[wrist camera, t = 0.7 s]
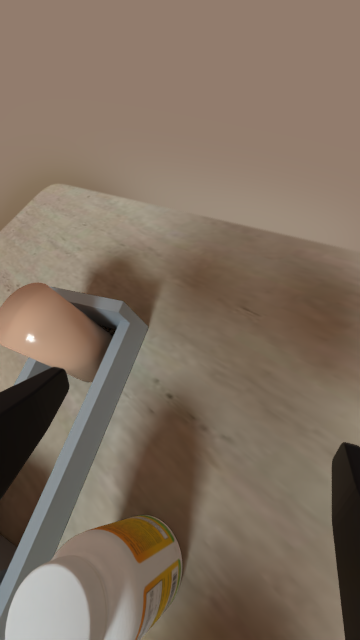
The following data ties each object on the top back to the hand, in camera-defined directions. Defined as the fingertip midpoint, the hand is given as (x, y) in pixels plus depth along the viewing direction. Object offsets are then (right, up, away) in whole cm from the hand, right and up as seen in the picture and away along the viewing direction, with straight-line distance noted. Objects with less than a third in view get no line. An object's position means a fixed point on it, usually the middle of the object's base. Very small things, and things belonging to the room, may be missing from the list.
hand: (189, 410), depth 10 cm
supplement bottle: (-2, -13, +11) cm, 17 cm away
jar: (-8, -1, +19) cm, 21 cm away
